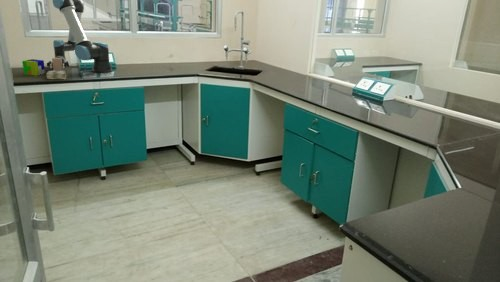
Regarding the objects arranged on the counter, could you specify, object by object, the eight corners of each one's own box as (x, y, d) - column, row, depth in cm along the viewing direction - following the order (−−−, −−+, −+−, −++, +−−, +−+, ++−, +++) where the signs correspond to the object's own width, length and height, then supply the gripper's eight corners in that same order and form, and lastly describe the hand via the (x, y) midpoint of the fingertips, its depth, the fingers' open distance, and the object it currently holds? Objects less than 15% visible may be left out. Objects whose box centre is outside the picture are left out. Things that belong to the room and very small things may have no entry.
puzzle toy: (45, 73, 291) (43, 60, 288) (35, 75, 282) (34, 62, 278) (33, 72, 293) (32, 59, 289) (24, 74, 284) (22, 61, 280)
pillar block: (63, 73, 295) (61, 57, 291) (62, 74, 290) (60, 59, 286) (54, 73, 293) (52, 57, 289) (54, 74, 288) (52, 59, 284)
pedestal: (66, 76, 286) (65, 70, 284) (65, 79, 276) (64, 73, 274) (48, 76, 282) (48, 70, 280) (47, 79, 271) (46, 73, 270)
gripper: (73, 66, 310) (72, 71, 290) (45, 66, 303) (42, 71, 283) (73, 56, 307) (71, 61, 288) (44, 56, 300) (41, 61, 280)
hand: (57, 66), depth 285 cm, fingers open, 8 cm apart
